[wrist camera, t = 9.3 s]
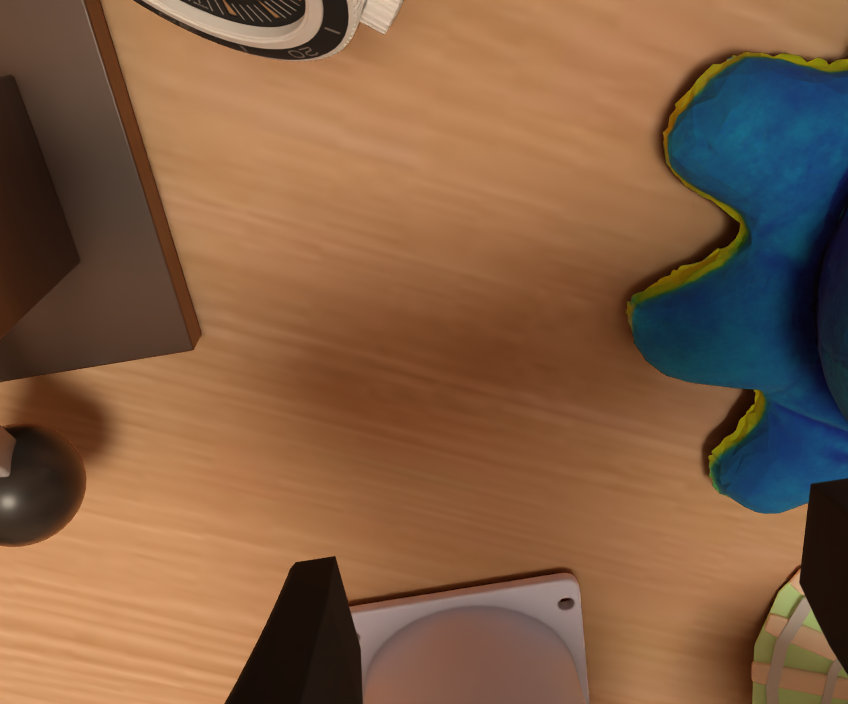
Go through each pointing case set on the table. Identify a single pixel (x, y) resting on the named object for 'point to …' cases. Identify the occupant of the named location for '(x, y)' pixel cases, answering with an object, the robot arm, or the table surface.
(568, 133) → the table surface
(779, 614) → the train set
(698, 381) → the plush toy
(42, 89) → the rod stand
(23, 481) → the rod arm
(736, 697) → the table surface
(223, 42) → the watch
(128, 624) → the table surface
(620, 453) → the table surface
